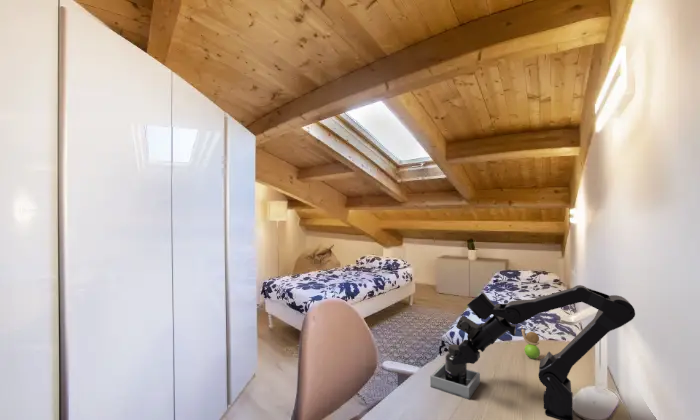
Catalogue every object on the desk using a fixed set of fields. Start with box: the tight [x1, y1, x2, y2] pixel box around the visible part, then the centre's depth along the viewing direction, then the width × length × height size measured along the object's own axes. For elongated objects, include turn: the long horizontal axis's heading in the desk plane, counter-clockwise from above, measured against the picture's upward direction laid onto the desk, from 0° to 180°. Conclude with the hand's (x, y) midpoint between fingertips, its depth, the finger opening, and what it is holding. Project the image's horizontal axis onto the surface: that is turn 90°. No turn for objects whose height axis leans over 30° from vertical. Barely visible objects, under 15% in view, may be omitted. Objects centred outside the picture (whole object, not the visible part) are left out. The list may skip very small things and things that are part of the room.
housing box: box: [430, 362, 481, 400], centre depth 106 cm, size 12×12×4 cm
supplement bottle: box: [444, 344, 468, 386], centre depth 107 cm, size 7×7×12 cm
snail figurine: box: [521, 325, 541, 360], centre depth 128 cm, size 5×6×12 cm
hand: (456, 358), depth 107 cm, fingers open, 9 cm apart
